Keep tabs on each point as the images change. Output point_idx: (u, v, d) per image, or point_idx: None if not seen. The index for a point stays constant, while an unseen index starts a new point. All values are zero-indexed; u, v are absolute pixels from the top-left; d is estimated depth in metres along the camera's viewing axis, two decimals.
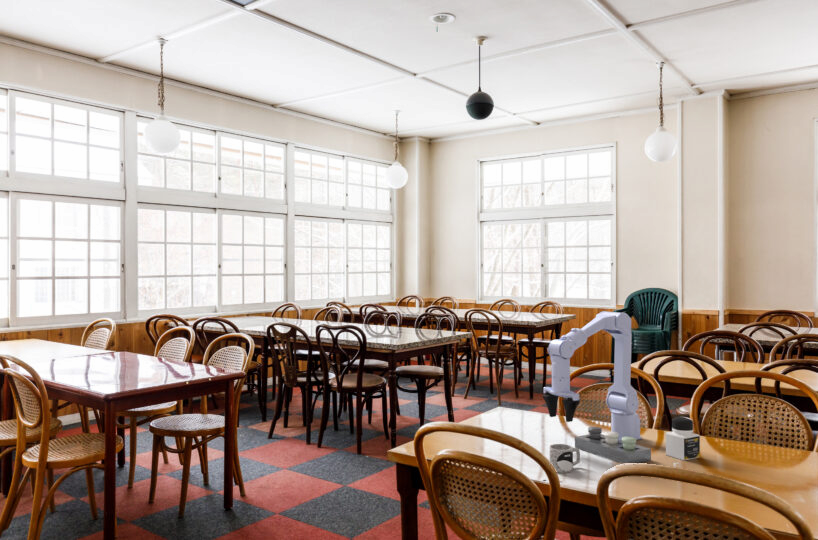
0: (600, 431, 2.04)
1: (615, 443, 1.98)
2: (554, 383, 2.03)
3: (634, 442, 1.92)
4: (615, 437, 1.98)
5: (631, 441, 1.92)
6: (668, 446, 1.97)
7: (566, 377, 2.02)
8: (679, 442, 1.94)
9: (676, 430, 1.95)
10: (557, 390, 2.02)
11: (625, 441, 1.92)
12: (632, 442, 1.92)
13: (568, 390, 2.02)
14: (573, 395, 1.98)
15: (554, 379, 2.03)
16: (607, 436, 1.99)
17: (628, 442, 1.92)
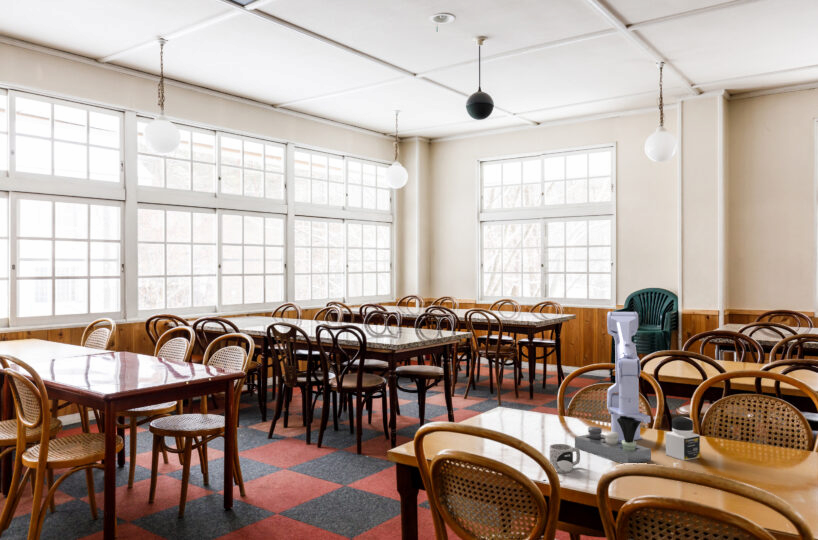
0: (600, 431, 2.04)
1: (615, 443, 1.98)
2: (622, 404, 1.92)
3: (634, 445, 1.92)
4: (615, 437, 1.98)
5: (631, 444, 1.92)
6: (668, 446, 1.97)
7: None
8: (679, 442, 1.94)
9: (676, 430, 1.95)
10: (626, 412, 1.91)
11: (625, 444, 1.92)
12: (632, 445, 1.92)
13: (637, 412, 1.92)
14: (644, 417, 1.87)
15: (622, 400, 1.92)
16: (607, 436, 1.99)
17: (628, 445, 1.92)
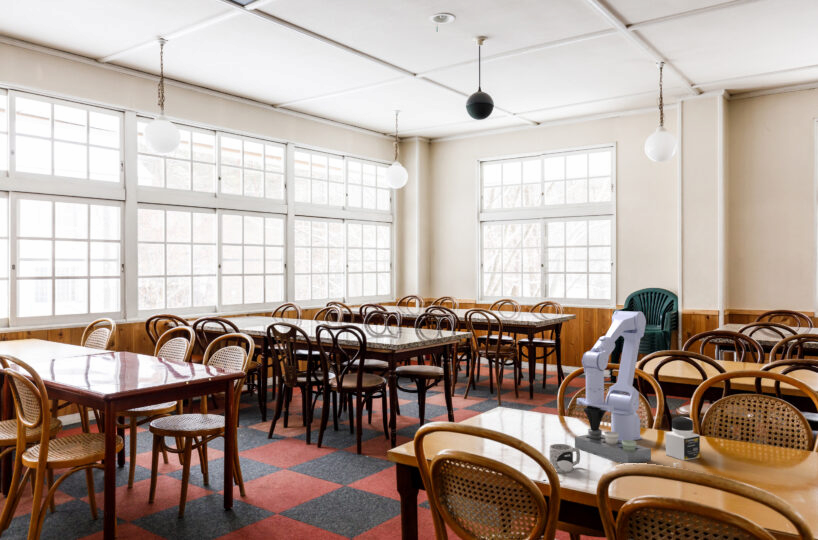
0: (600, 433, 2.04)
1: (615, 443, 1.98)
2: (588, 395, 2.05)
3: (634, 445, 1.92)
4: (615, 437, 1.98)
5: (631, 444, 1.92)
6: (668, 446, 1.97)
7: (602, 388, 2.04)
8: (679, 442, 1.94)
9: (676, 430, 1.95)
10: (591, 401, 2.04)
11: (625, 444, 1.92)
12: (632, 445, 1.92)
13: (602, 401, 2.04)
14: (608, 407, 2.00)
15: (588, 391, 2.05)
16: (607, 436, 1.99)
17: (628, 445, 1.92)
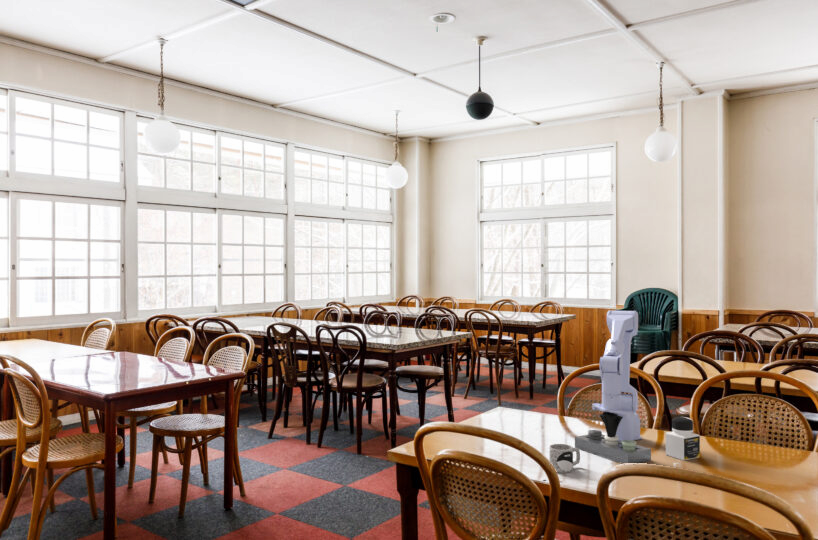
0: (600, 434, 2.04)
1: None
2: (605, 400, 1.98)
3: (634, 445, 1.92)
4: (615, 440, 1.98)
5: (631, 444, 1.92)
6: (668, 446, 1.97)
7: (620, 393, 1.98)
8: (679, 442, 1.94)
9: (676, 430, 1.95)
10: (608, 407, 1.98)
11: (625, 444, 1.92)
12: (632, 445, 1.92)
13: (619, 407, 1.98)
14: (625, 413, 1.94)
15: (605, 396, 1.98)
16: (607, 439, 1.99)
17: (628, 445, 1.92)
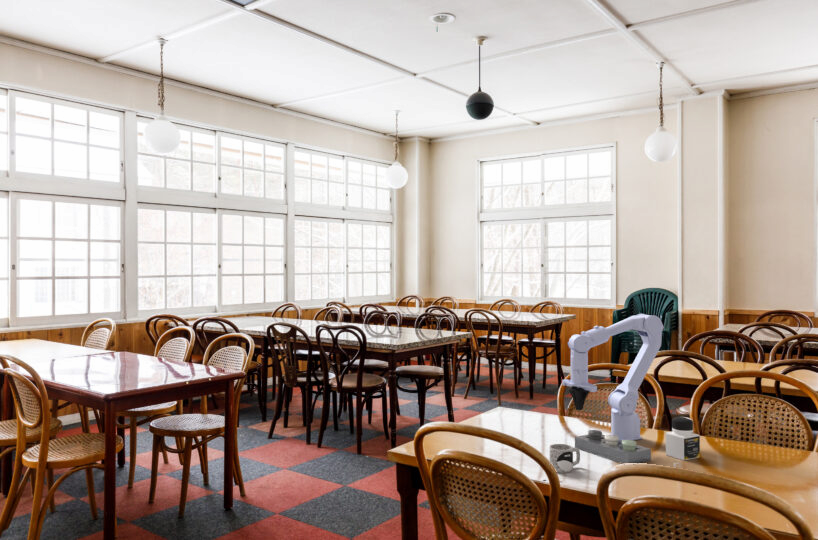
0: (600, 434, 2.04)
1: None
2: (573, 376, 2.15)
3: (634, 445, 1.92)
4: (615, 440, 1.98)
5: (631, 444, 1.92)
6: (668, 446, 1.97)
7: (581, 370, 2.13)
8: (679, 442, 1.94)
9: (676, 430, 1.95)
10: (576, 382, 2.14)
11: (625, 444, 1.92)
12: (632, 445, 1.92)
13: (586, 382, 2.14)
14: (591, 387, 2.10)
15: (573, 372, 2.15)
16: (607, 439, 1.99)
17: (628, 445, 1.92)
